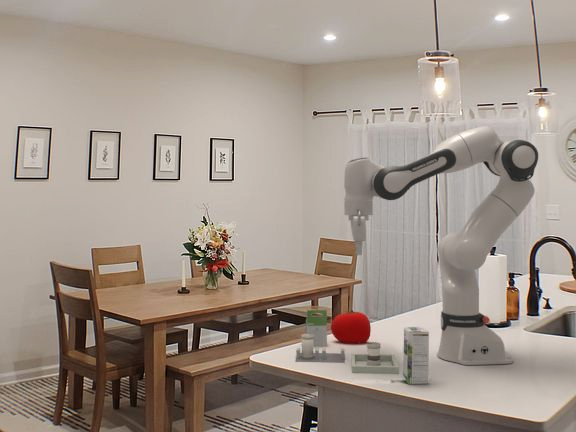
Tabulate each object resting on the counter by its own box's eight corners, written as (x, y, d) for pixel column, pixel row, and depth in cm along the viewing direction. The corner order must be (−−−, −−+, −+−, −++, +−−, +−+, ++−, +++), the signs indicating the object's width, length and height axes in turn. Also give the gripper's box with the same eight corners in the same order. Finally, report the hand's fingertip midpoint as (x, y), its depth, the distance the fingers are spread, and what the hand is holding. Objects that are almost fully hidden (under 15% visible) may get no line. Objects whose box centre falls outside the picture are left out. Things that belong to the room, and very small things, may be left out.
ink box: (326, 346, 194) (325, 307, 194) (327, 350, 190) (327, 310, 190) (305, 347, 194) (305, 308, 194) (306, 350, 190) (306, 310, 190)
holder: (344, 357, 181) (344, 331, 181) (344, 366, 171) (344, 339, 171) (297, 356, 183) (297, 331, 183) (295, 365, 173) (294, 338, 173)
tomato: (360, 350, 189) (360, 316, 189) (325, 344, 197) (325, 311, 197) (378, 343, 199) (377, 310, 199) (343, 337, 207) (343, 306, 207)
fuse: (380, 365, 169) (379, 342, 169) (380, 369, 166) (380, 345, 165) (366, 365, 170) (366, 342, 170) (367, 369, 166) (367, 345, 166)
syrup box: (402, 378, 160) (402, 326, 160) (423, 377, 161) (423, 326, 160) (408, 384, 155) (408, 331, 154) (429, 384, 155) (429, 331, 154)
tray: (394, 364, 173) (394, 354, 173) (398, 377, 161) (398, 367, 160) (351, 363, 175) (351, 353, 175) (351, 376, 162) (351, 366, 162)
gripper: (370, 210, 169) (370, 257, 169) (367, 208, 189) (367, 250, 190) (348, 210, 169) (348, 256, 170) (348, 209, 190) (348, 250, 190)
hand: (358, 253), depth 180 cm, fingers open, 8 cm apart
